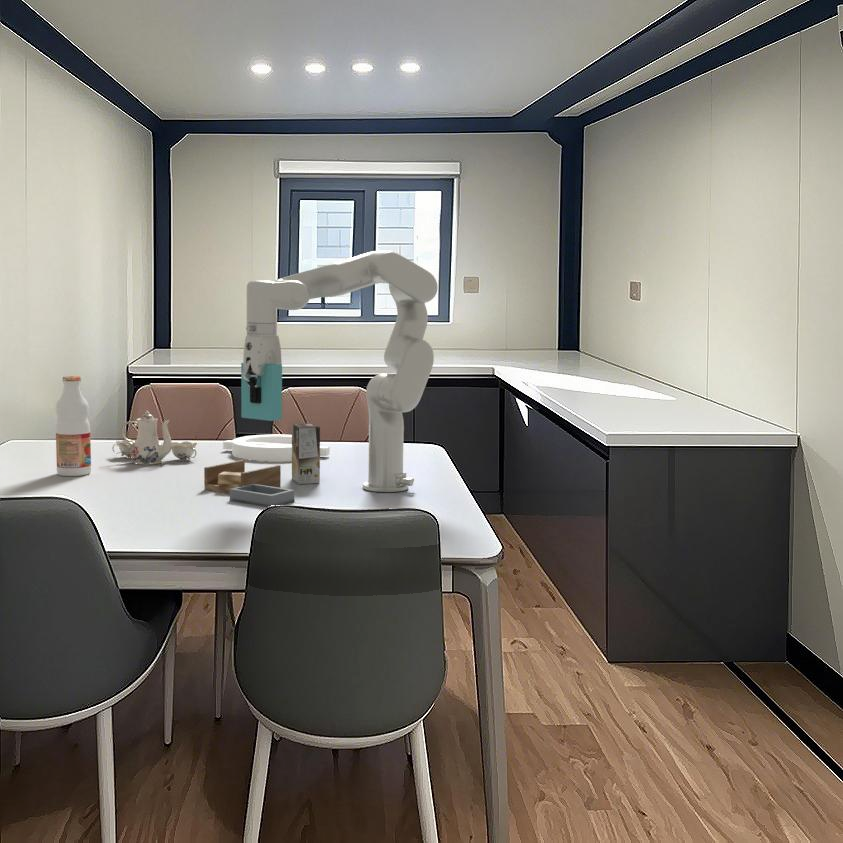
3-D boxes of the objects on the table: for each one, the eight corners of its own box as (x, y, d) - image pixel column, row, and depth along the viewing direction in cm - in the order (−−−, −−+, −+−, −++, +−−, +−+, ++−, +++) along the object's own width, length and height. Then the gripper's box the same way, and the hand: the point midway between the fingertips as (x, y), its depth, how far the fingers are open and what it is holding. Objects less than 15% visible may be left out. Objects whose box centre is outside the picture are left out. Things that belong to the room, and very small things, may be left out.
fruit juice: (53, 472, 306) (50, 375, 302) (85, 469, 311) (83, 374, 308) (61, 478, 298) (59, 378, 295) (95, 475, 304) (93, 377, 300)
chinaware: (203, 463, 336) (204, 410, 335) (188, 467, 319) (189, 411, 318) (117, 460, 338) (118, 408, 337) (97, 464, 321) (98, 409, 321)
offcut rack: (280, 486, 291) (280, 465, 291) (243, 495, 279) (243, 473, 278) (241, 481, 299) (241, 460, 298) (204, 489, 286) (204, 467, 285)
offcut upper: (248, 482, 287) (248, 473, 286) (243, 484, 283) (243, 475, 282) (223, 480, 288) (223, 471, 288) (218, 483, 284) (218, 474, 284)
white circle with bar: (333, 459, 340) (333, 444, 339) (250, 465, 326) (250, 449, 325) (298, 446, 364) (298, 432, 363) (220, 451, 350) (220, 437, 349)
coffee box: (320, 483, 298) (321, 426, 295) (298, 484, 295) (298, 427, 293) (312, 477, 306) (312, 422, 304) (290, 478, 304) (290, 423, 302)
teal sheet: (281, 419, 269) (282, 364, 267) (271, 420, 266) (271, 365, 264) (251, 415, 274) (251, 361, 273) (241, 417, 271) (241, 362, 269)
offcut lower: (247, 492, 286) (247, 483, 285) (238, 494, 282) (238, 485, 282) (227, 489, 289) (227, 480, 289) (217, 491, 286) (217, 482, 285)
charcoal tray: (294, 501, 273) (294, 490, 273) (271, 507, 266) (271, 495, 265) (253, 494, 280) (253, 483, 280) (229, 500, 273) (229, 489, 272)
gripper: (250, 331, 258) (250, 406, 261) (294, 329, 272) (294, 400, 275) (227, 330, 262) (228, 404, 264) (271, 328, 276) (271, 398, 279)
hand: (261, 401), depth 269 cm, fingers closed on teal sheet, 4 cm apart
